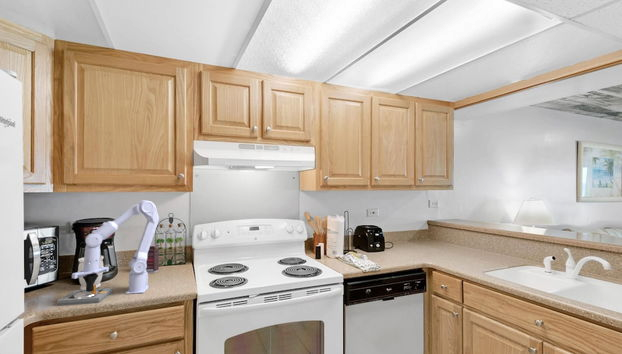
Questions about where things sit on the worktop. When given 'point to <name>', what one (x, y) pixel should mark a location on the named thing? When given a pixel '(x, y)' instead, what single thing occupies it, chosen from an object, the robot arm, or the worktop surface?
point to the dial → (87, 293)
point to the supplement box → (153, 259)
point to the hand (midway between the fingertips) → (89, 291)
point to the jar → (97, 281)
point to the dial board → (71, 300)
